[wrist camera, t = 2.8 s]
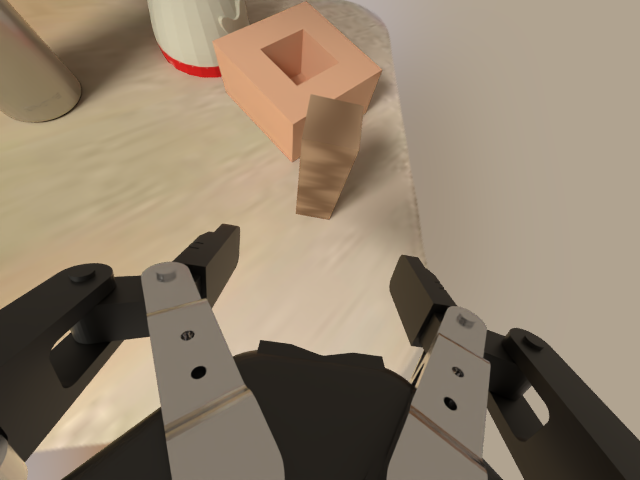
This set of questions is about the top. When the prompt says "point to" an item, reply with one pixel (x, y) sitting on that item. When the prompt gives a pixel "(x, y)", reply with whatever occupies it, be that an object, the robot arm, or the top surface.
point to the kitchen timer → (195, 31)
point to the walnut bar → (327, 153)
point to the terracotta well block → (292, 71)
